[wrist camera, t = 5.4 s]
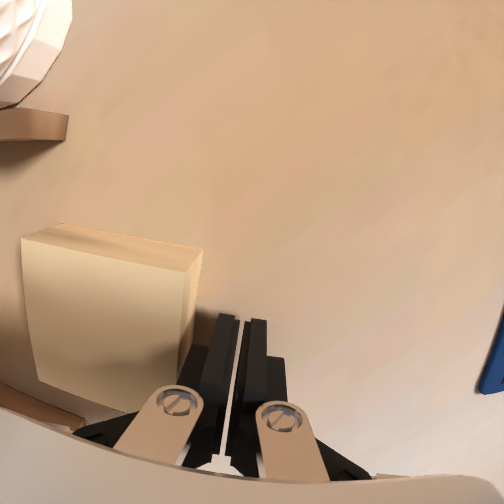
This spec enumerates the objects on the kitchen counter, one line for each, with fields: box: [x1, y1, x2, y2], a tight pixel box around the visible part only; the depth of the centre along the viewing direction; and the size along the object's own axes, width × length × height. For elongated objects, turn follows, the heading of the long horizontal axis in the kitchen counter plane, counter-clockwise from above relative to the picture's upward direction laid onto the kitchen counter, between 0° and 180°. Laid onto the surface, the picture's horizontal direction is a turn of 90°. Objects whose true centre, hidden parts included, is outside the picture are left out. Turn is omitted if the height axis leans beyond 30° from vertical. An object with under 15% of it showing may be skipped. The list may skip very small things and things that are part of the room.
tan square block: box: [21, 224, 203, 413], centre depth 11 cm, size 6×6×3 cm
